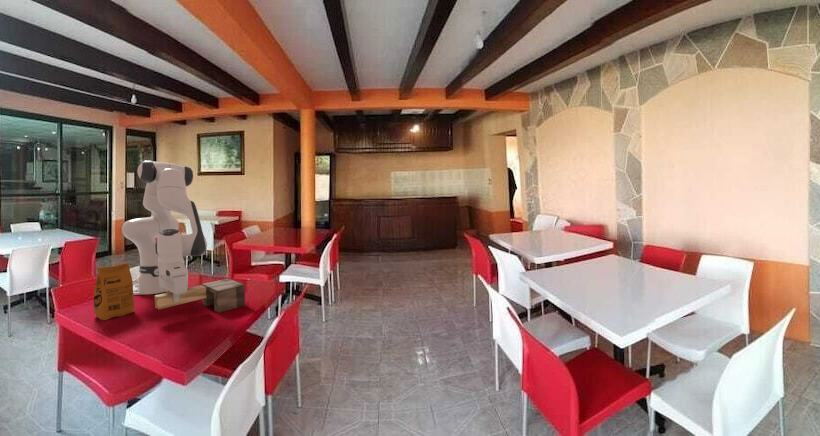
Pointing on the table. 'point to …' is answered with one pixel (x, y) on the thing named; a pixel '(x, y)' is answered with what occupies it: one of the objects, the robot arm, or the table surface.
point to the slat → (180, 297)
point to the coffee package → (113, 292)
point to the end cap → (224, 295)
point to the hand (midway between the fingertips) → (173, 300)
